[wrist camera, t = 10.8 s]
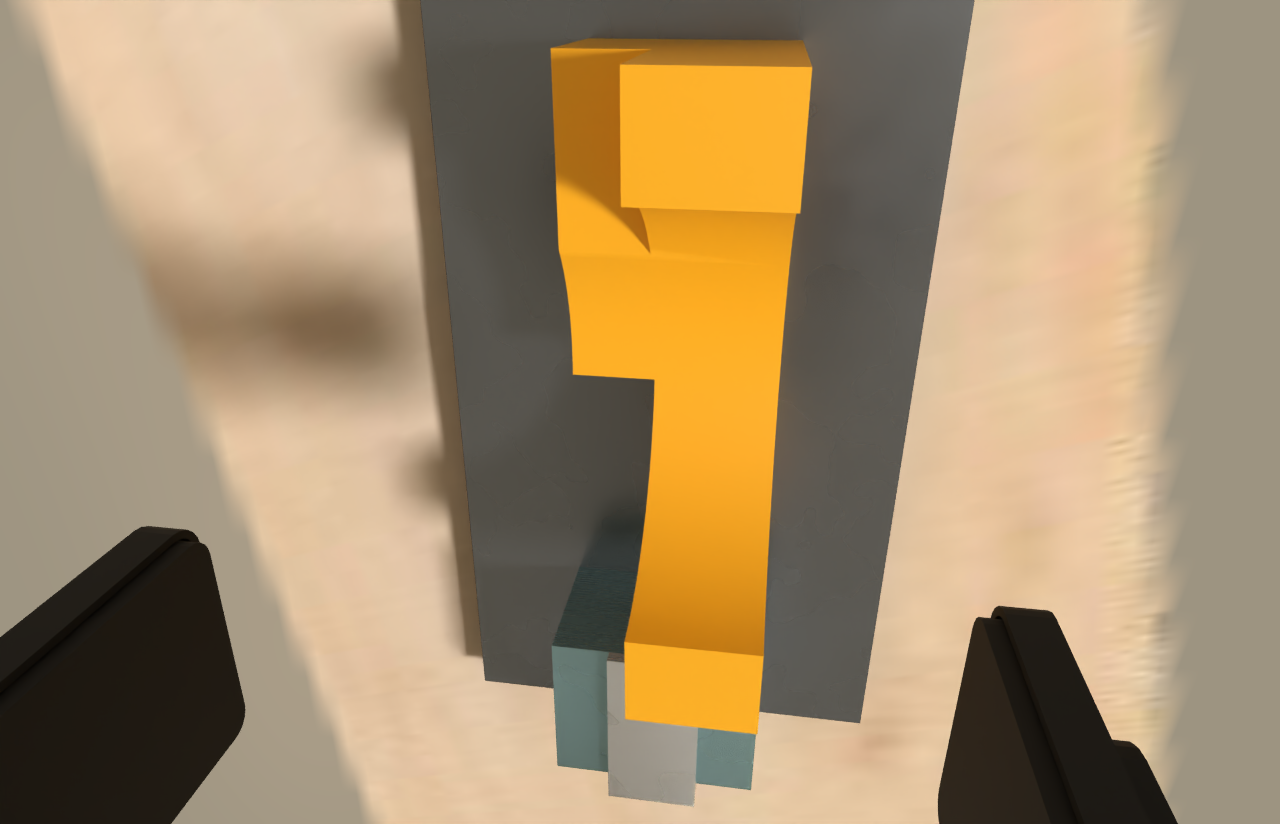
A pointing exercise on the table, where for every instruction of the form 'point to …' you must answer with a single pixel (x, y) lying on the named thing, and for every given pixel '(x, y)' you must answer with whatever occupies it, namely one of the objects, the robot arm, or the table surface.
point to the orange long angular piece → (687, 329)
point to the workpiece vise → (623, 407)
